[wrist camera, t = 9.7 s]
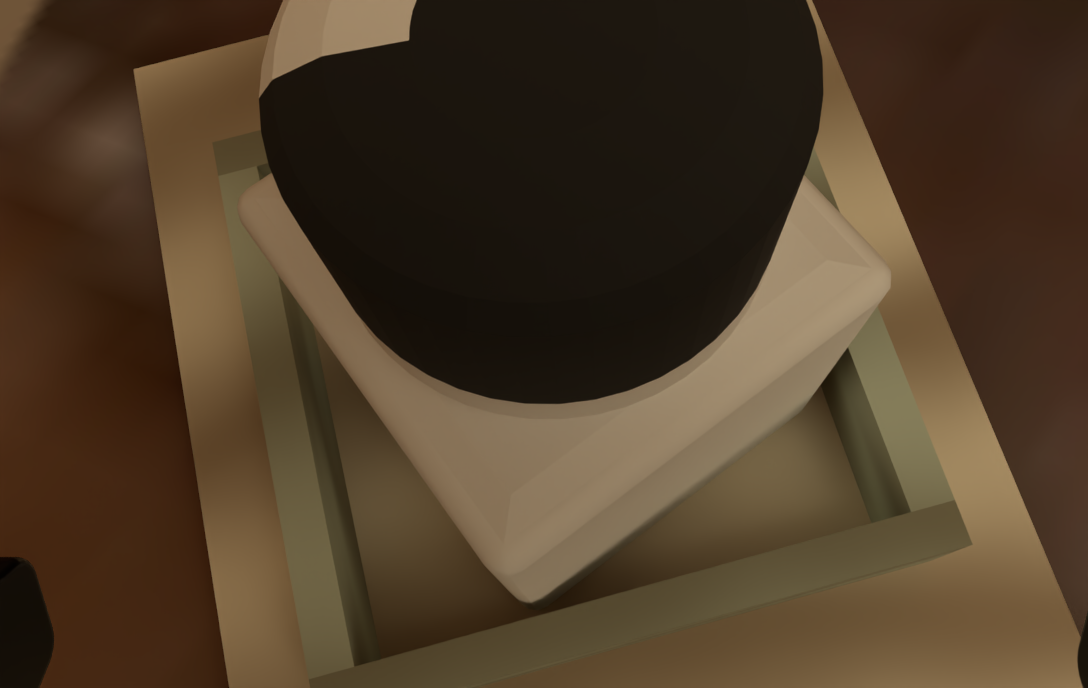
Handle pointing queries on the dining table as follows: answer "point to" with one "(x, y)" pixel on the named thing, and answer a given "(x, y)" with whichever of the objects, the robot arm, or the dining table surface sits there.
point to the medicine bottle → (560, 248)
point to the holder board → (649, 560)
